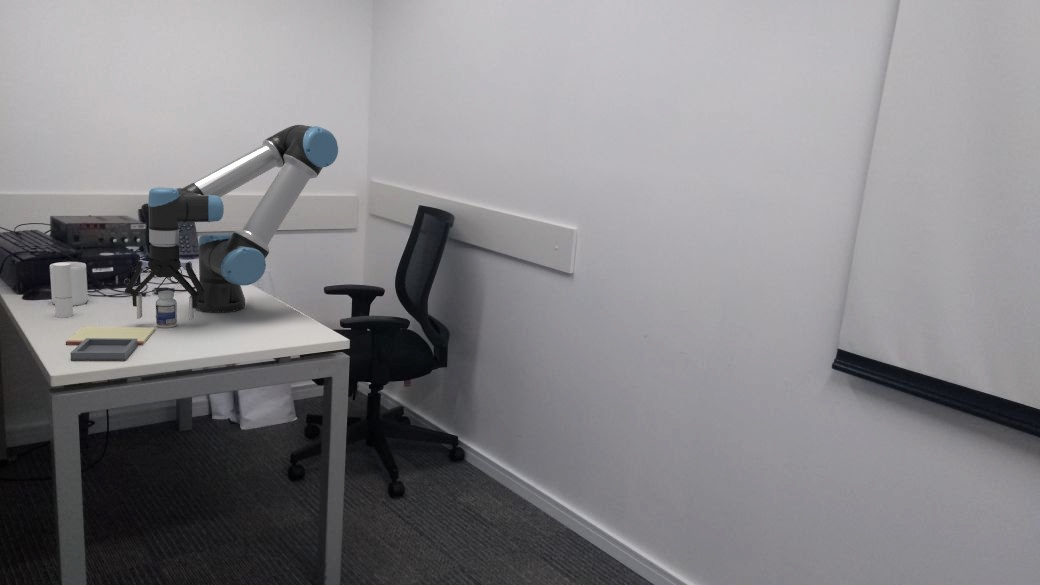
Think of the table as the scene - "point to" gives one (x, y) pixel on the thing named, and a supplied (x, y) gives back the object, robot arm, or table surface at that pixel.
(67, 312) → the tube
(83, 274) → the mug
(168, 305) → the pill bottle
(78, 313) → the table surface
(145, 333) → the notepad
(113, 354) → the tray
